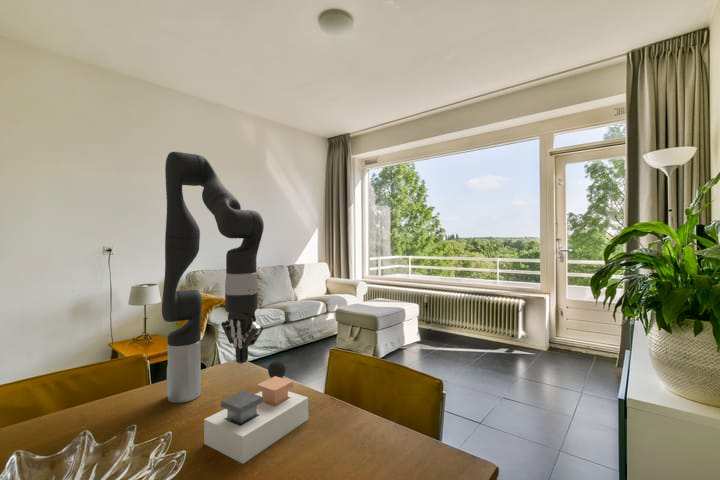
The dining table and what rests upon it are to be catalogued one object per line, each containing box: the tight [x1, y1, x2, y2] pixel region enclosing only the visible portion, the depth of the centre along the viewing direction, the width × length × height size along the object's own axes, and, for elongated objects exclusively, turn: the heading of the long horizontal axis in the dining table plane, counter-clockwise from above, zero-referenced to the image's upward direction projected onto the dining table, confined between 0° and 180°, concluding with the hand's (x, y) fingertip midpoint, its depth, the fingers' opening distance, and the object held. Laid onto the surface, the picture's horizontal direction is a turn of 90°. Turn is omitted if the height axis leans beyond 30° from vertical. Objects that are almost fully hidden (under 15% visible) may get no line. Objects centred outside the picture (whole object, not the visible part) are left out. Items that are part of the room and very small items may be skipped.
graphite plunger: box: [220, 390, 263, 426], centre depth 85 cm, size 7×7×6 cm
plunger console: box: [203, 390, 309, 464], centre depth 89 cm, size 14×22×6 cm, turn 148°
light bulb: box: [267, 359, 287, 379], centre depth 112 cm, size 6×6×10 cm
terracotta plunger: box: [256, 376, 294, 406], centre depth 94 cm, size 7×7×6 cm
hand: (241, 362), depth 84 cm, fingers closed
